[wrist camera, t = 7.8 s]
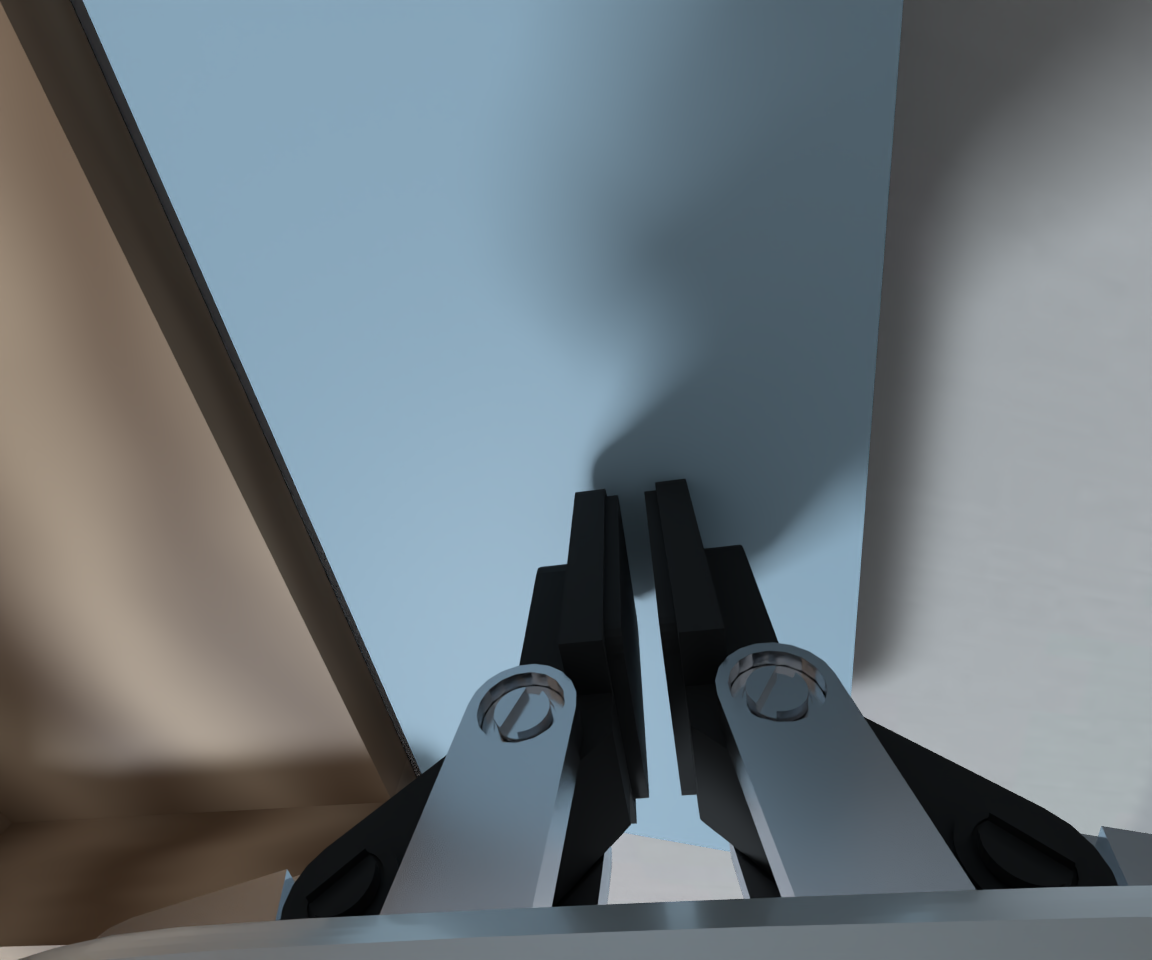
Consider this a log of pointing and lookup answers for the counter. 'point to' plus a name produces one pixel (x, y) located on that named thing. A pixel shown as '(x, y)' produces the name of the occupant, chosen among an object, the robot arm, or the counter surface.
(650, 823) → the panel
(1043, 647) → the counter surface
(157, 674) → the box
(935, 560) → the counter surface
